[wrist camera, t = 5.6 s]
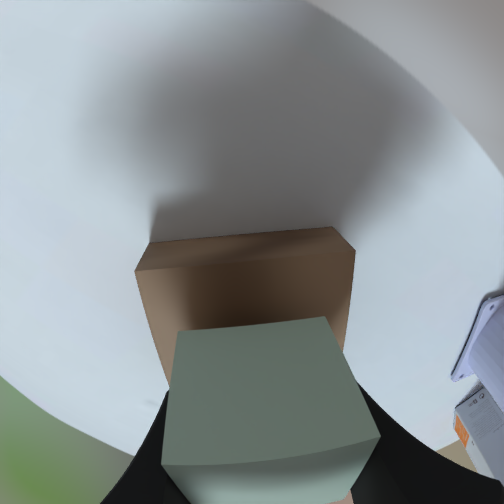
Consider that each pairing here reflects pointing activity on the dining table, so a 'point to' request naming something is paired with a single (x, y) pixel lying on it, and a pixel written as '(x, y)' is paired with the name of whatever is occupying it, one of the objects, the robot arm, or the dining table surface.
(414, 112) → the dining table surface
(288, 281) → the walnut block
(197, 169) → the dining table surface
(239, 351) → the sage cube
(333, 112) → the dining table surface
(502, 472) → the skincare box
